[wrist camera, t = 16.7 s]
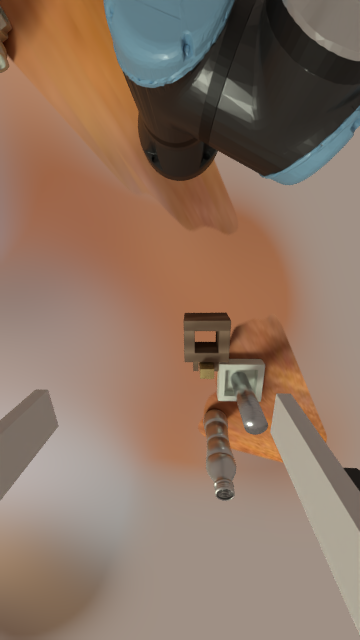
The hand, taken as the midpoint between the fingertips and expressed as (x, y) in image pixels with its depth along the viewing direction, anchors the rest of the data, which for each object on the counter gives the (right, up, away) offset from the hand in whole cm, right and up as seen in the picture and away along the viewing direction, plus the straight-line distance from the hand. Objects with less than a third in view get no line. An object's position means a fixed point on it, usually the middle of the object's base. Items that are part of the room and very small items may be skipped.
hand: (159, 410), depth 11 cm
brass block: (+8, -4, +39) cm, 40 cm away
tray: (+17, -10, +41) cm, 46 cm away
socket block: (+8, +1, +38) cm, 39 cm away
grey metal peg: (+17, -10, +41) cm, 45 cm away
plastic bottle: (+11, -22, +46) cm, 52 cm away
